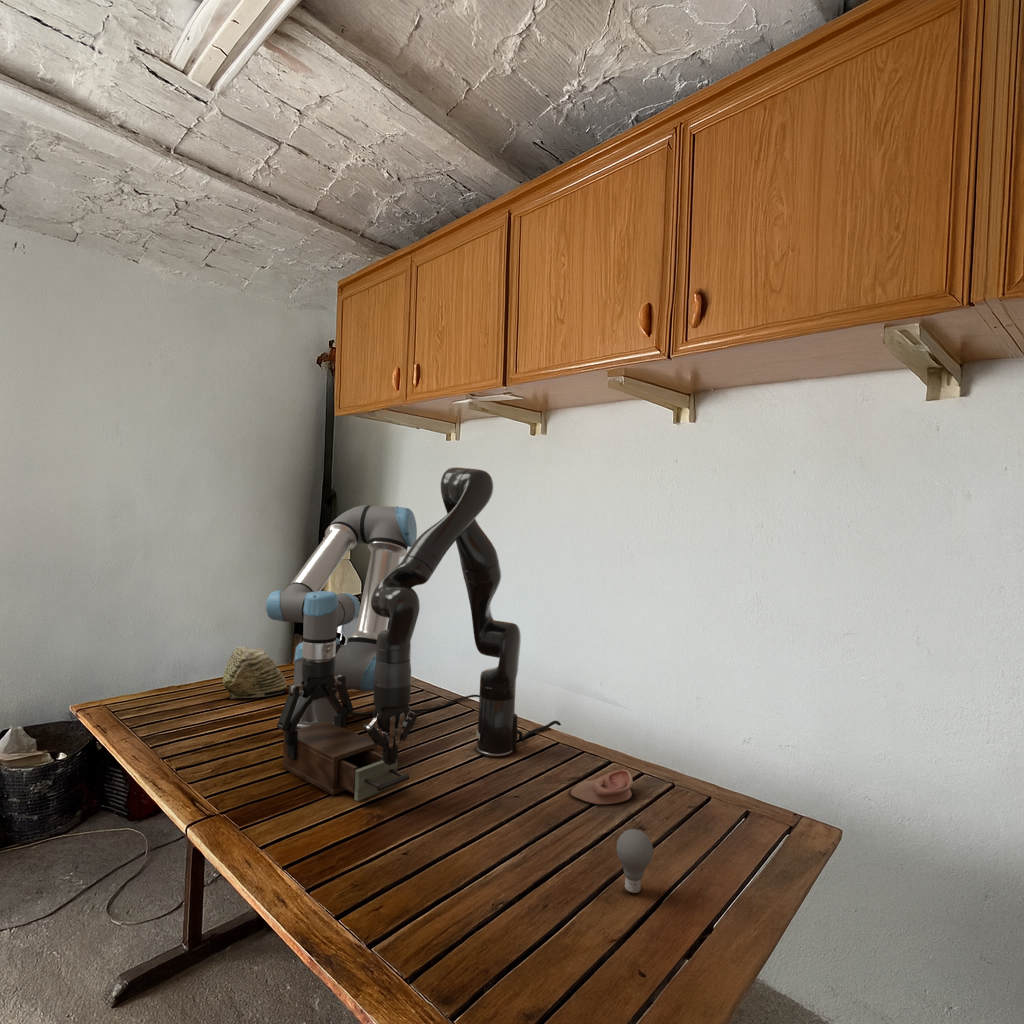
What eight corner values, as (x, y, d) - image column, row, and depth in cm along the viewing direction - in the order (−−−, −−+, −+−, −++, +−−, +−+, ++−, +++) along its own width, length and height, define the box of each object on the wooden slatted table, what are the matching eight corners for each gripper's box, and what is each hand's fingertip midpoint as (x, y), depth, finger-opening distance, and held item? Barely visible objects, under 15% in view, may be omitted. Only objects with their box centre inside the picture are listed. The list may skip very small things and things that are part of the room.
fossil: (218, 695, 195) (220, 647, 195) (278, 685, 208) (279, 640, 207) (228, 703, 189) (230, 653, 188) (289, 692, 201) (290, 645, 201)
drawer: (413, 793, 134) (414, 764, 134) (374, 810, 126) (375, 779, 126) (345, 761, 149) (346, 735, 149) (307, 774, 141) (308, 747, 141)
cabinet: (376, 778, 143) (377, 742, 143) (332, 795, 134) (334, 756, 134) (325, 754, 156) (326, 720, 156) (282, 768, 147) (283, 732, 147)
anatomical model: (569, 782, 136) (575, 761, 148) (568, 800, 136) (574, 778, 148) (632, 790, 134) (633, 768, 145) (631, 809, 134) (632, 785, 145)
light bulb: (610, 879, 108) (613, 822, 108) (644, 879, 109) (647, 822, 109) (619, 902, 102) (622, 840, 102) (655, 901, 103) (658, 840, 103)
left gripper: (280, 670, 137) (277, 770, 137) (370, 653, 155) (367, 741, 155) (262, 664, 141) (259, 760, 142) (351, 647, 160) (348, 733, 160)
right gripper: (378, 691, 124) (375, 779, 124) (428, 678, 134) (425, 759, 134) (355, 683, 129) (352, 767, 129) (405, 670, 139) (402, 748, 139)
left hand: (315, 750), depth 148 cm, fingers closed on cabinet, 11 cm apart
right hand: (390, 763), depth 132 cm, fingers closed
